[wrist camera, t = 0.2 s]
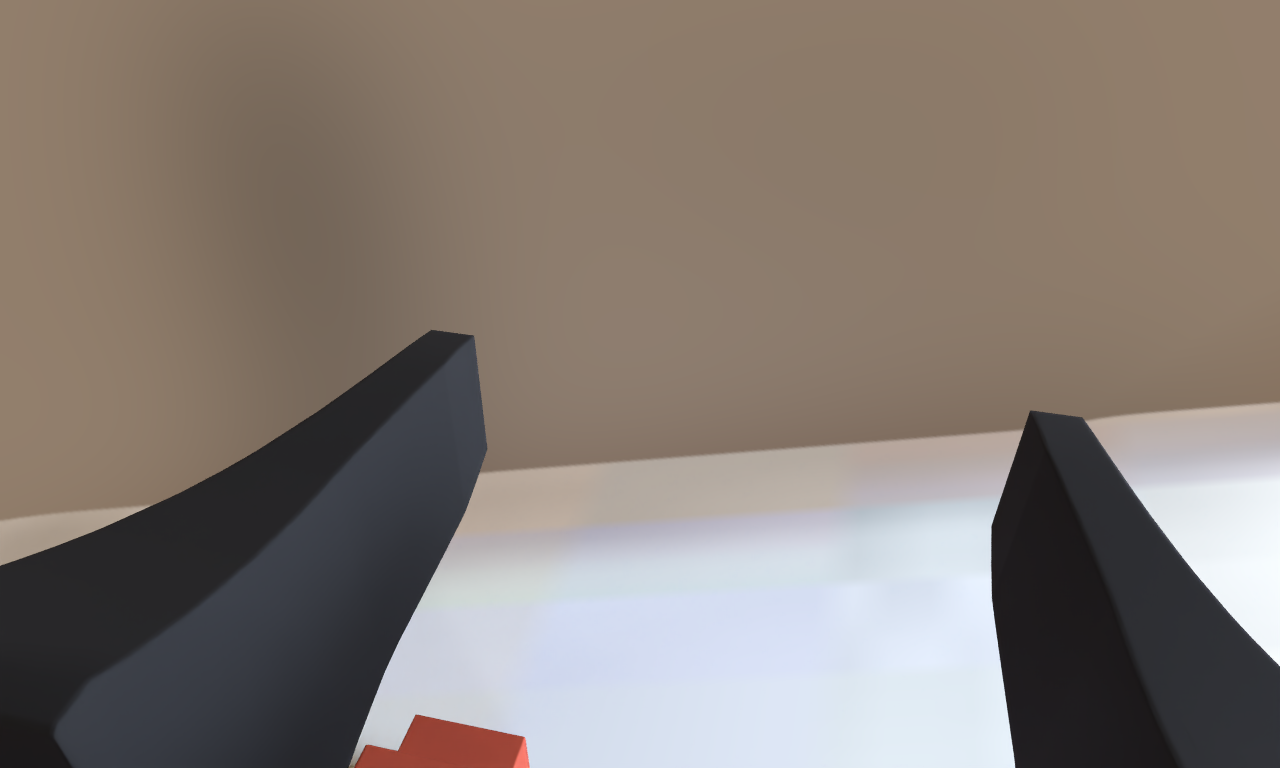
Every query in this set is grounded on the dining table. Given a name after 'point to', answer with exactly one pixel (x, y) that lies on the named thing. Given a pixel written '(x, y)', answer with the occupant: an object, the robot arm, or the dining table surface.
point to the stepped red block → (449, 748)
